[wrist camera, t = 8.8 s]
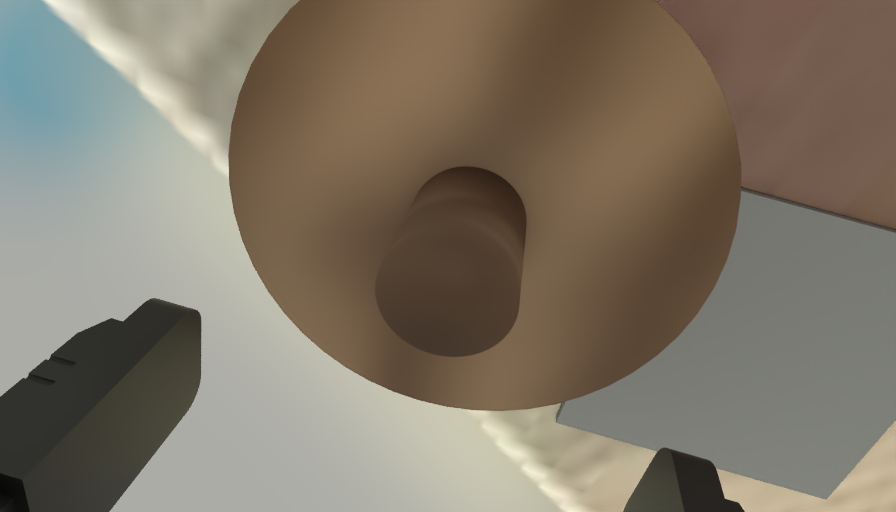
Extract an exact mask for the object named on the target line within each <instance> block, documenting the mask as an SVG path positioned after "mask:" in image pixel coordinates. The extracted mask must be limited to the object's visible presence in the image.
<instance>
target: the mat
mask: <svg viewBox="0 0 896 512" xmlns="http://www.w3.org/2000/svg"><path fill="white" fill-rule="evenodd" d="M895 420H896V230H894V229H890V228H886V227H883V226H879V225H875V224H872V223H868V222H864V221H861V220H857V219H853V218H850V217H846V216H842V215H839V214H835V213H831V212H828V211H824V210H820V209H817V208H813V207H809V206H806V205H802V204H799V203H795V202H791V201H788V200H784V199H780V198H777V197H773V196H769V195H766V194H762V193H758V192H755V191H751V190H747V189H744V188H741V200H740V207H739V214H738V221H737V228H736V232H735V236H734V239H733V242H732V246H731V249H730V252H729V256H728V259H727V262H726V264H725V266H724V268H723V270H722V272H721V274H720V277H719V279H718V281H717V283H716V285H715V287H714V289H713V291H712V292H711V294H710V295H709V297H708V299H707V300H706V302H705V303H704V305H703V306H702V308H701V309H700V311H699V312H698V314H697V315H696V316H695V317H694V319H693V320H692V321H691V322H690V323H689V325H688V326H687V327H686V328H685V329H684V330H683V332H682V333H681V334H680V335H679V336H678V337H677V338H676V339H675V340H674V341H673V342H672V343H671V344H669V345H668V346H667V347H666V348H665V349H664V350H663V351H662V352H661V353H659V354H658V355H657V356H656V357H655V358H653V359H652V360H650V361H649V362H648V363H646V364H645V365H643V366H642V367H640V368H639V369H638V370H636V371H635V372H633V373H632V374H630V375H628V376H626V377H624V378H622V379H620V380H619V381H617V382H615V383H613V384H611V385H609V386H607V387H605V388H602V389H600V390H597V391H595V392H593V393H590V394H588V395H585V396H583V397H579V398H576V399H572V400H569V401H565V402H563V403H562V405H561V407H560V410H559V412H558V414H557V416H556V423H560V424H563V425H567V426H570V427H574V428H577V429H581V430H584V431H588V432H591V433H595V434H598V435H602V436H605V437H609V438H612V439H616V440H619V441H623V442H626V443H630V444H633V445H637V446H640V447H644V448H647V449H651V450H654V451H659V450H660V449H661V448H664V447H665V448H669V449H673V450H676V451H680V452H683V453H687V454H690V455H693V456H697V457H700V458H704V459H707V460H710V461H711V462H712V463H713V464H714V466H715V468H718V469H721V470H725V471H728V472H732V473H735V474H739V475H742V476H746V477H749V478H753V479H756V480H760V481H763V482H767V483H770V484H774V485H777V486H781V487H784V488H788V489H791V490H795V491H798V492H802V493H805V494H809V495H812V496H816V497H819V498H823V499H827V498H828V497H829V496H830V495H831V494H832V492H833V491H834V490H835V489H836V488H837V487H838V486H839V484H840V483H841V482H842V481H843V480H844V479H845V478H846V476H847V475H848V474H849V473H850V472H851V471H852V470H853V468H854V467H855V466H856V465H857V464H858V463H859V462H860V460H861V459H862V458H863V457H864V456H865V455H866V454H867V452H868V451H869V450H870V449H871V448H872V447H873V445H874V444H875V443H876V442H877V441H878V440H879V439H880V437H881V436H882V435H883V434H884V433H885V432H886V431H887V429H888V428H889V427H890V426H891V425H892V424H893V423H894V421H895Z"/></svg>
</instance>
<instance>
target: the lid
mask: <svg viewBox="0 0 896 512" xmlns="http://www.w3.org/2000/svg"><path fill="white" fill-rule="evenodd" d="M229 184H230V190H231V196H232V202H233V208H234V214H235V217H236V221H237V224H238V227H239V231H240V234H241V237H242V240H243V243H244V245H245V248H246V250H247V252H248V254H249V257H250V259H251V261H252V264H253V266H254V268H255V270H256V271H257V273H258V275H259V276H260V278H261V280H262V281H263V283H264V285H265V287H266V288H267V290H268V292H269V293H270V294H271V296H272V297H273V298H274V300H275V301H276V302H277V304H278V305H279V306H280V308H281V309H282V311H283V312H284V313H285V314H286V315H287V316H288V317H289V319H290V320H291V321H292V322H293V323H294V324H295V325H296V326H297V327H298V328H299V329H300V331H302V333H303V334H304V335H306V336H307V337H308V338H309V339H310V340H311V341H312V342H314V343H315V344H316V345H317V346H318V347H319V348H321V349H322V350H323V351H324V352H325V353H327V354H328V355H330V356H331V357H332V358H334V359H335V360H337V361H338V362H339V363H341V364H342V365H344V366H345V367H346V368H348V369H350V370H352V371H354V372H355V373H357V374H359V375H360V376H362V377H364V378H366V379H368V380H369V381H371V382H374V383H376V384H378V385H381V386H383V387H385V388H387V389H389V390H392V391H394V392H397V393H400V394H403V395H405V396H408V397H411V398H414V399H417V400H421V401H425V402H429V403H434V404H438V405H442V406H447V407H454V408H462V409H470V410H489V411H506V410H521V409H531V408H537V407H542V406H548V405H554V404H558V403H562V402H565V401H569V400H572V399H576V398H579V397H583V396H585V395H588V394H590V393H593V392H595V391H597V390H600V389H602V388H605V387H607V386H609V385H611V384H613V383H615V382H617V381H619V380H620V379H622V378H624V377H626V376H628V375H630V374H632V373H633V372H635V371H636V370H638V369H639V368H640V367H642V366H643V365H645V364H646V363H648V362H649V361H650V360H652V359H653V358H655V357H656V356H657V355H658V354H659V353H661V352H662V351H663V350H664V349H665V348H666V347H667V346H668V345H669V344H671V343H672V342H673V341H674V340H675V339H676V338H677V337H678V336H679V335H680V334H681V333H682V332H683V330H684V329H685V328H686V327H687V326H688V325H689V323H690V322H691V321H692V320H693V319H694V317H695V316H696V315H697V314H698V312H699V311H700V309H701V308H702V306H703V305H704V303H705V302H706V300H707V299H708V297H709V295H710V294H711V292H712V291H713V289H714V287H715V285H716V283H717V281H718V279H719V277H720V274H721V272H722V270H723V268H724V266H725V264H726V262H727V259H728V256H729V252H730V249H731V246H732V242H733V239H734V236H735V232H736V228H737V221H738V214H739V207H740V200H741V162H740V156H739V150H738V144H737V138H736V132H735V127H734V124H733V121H732V118H731V115H730V112H729V109H728V106H727V103H726V100H725V97H724V94H723V92H722V90H721V88H720V86H719V84H718V82H717V80H716V78H715V76H714V74H713V72H712V71H711V69H710V67H709V65H708V63H707V61H706V59H705V58H704V56H703V55H702V54H701V52H700V51H699V50H698V48H697V47H696V46H695V44H694V43H693V41H692V40H691V39H690V37H689V36H688V35H687V33H686V32H685V30H684V29H683V28H682V27H681V26H680V25H679V24H678V23H677V22H676V21H675V20H674V19H673V18H672V17H671V16H670V15H669V14H668V13H667V12H666V11H665V10H664V9H663V8H662V7H661V6H660V5H659V4H658V3H657V2H656V1H655V0H300V1H299V2H298V3H297V4H296V5H294V6H293V7H292V8H291V9H290V10H289V11H288V13H287V14H286V15H285V16H284V17H283V19H282V20H281V21H280V22H279V24H278V25H277V26H276V27H275V28H274V30H273V31H272V32H271V33H270V34H269V36H268V37H267V39H266V41H265V42H264V44H263V46H262V47H261V49H260V51H259V52H258V54H257V56H256V57H255V59H254V61H253V62H252V64H251V67H250V69H249V71H248V74H247V76H246V79H245V81H244V84H243V86H242V88H241V91H240V93H239V97H238V101H237V105H236V109H235V113H234V117H233V121H232V126H231V136H230V145H229Z"/></svg>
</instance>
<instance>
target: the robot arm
mask: <svg viewBox="0 0 896 512" xmlns="http://www.w3.org/2000/svg"><path fill="white" fill-rule="evenodd" d="M200 379H201V316H200V313H199V312H198V311H197V310H194V309H191V308H187V307H184V306H181V305H177V304H173V303H170V302H167V301H163V300H160V299H156V298H153V299H150V300H148V301H146V302H145V303H144V304H142V305H141V306H140V307H139V308H138V309H137V310H136V311H135V312H133V313H132V314H131V315H130V316H129V317H128V318H127V319H126V320H124V321H123V322H122V321H118V320H115V319H112V318H111V319H108V320H106V321H104V322H102V323H99V324H97V325H95V326H93V327H90V328H88V329H86V330H84V331H81V332H79V333H77V334H76V335H75V336H74V337H72V338H71V339H70V340H68V341H67V342H66V343H65V344H64V345H62V346H61V347H60V348H59V349H58V350H56V351H55V352H54V353H53V354H52V355H51V357H50V359H49V360H44V361H43V362H42V363H41V364H40V365H38V366H37V367H36V368H35V369H33V370H32V371H31V372H30V373H29V376H28V377H27V378H26V379H25V378H23V379H21V380H20V381H19V382H18V383H16V385H14V386H13V387H12V388H11V389H9V390H8V391H7V392H6V393H4V394H3V395H2V396H1V397H0V512H109V511H110V510H111V509H112V507H113V506H114V505H115V504H116V502H117V501H118V500H119V498H120V497H121V496H122V495H123V493H124V492H125V491H126V489H127V488H128V487H129V486H130V484H131V483H132V481H134V479H135V478H136V477H137V475H138V474H139V473H140V472H141V470H142V469H143V468H144V466H145V465H146V464H147V463H148V461H149V460H150V459H151V457H152V456H153V455H154V454H155V452H156V451H157V450H158V448H159V447H160V446H161V445H162V443H163V442H164V441H165V439H166V438H167V437H168V436H169V434H170V433H171V432H172V431H173V429H174V428H175V427H176V425H177V424H178V423H179V421H180V420H181V419H182V417H183V416H184V415H185V414H186V413H187V411H188V410H189V408H190V406H191V405H192V403H193V401H194V399H195V396H196V394H197V391H198V388H199V384H200ZM624 512H745V511H744V510H743V509H742V507H741V506H740V504H739V503H737V502H734V501H731V500H727V499H725V498H724V494H723V491H722V487H721V484H720V480H719V477H718V474H717V470H716V468H715V466H714V464H713V463H712V462H711V461H710V460H707V459H704V458H700V457H697V456H693V455H690V454H687V453H683V452H680V451H676V450H673V449H669V448H665V447H664V448H661V449H660V450H659V451H658V452H657V453H656V455H655V456H654V458H653V460H652V462H651V463H650V465H649V467H648V468H647V470H646V472H645V473H644V475H643V477H642V478H641V480H640V482H639V483H638V485H637V487H636V488H635V490H634V492H633V494H632V495H631V497H630V499H629V500H628V502H627V504H626V506H625V509H624Z"/></svg>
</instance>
